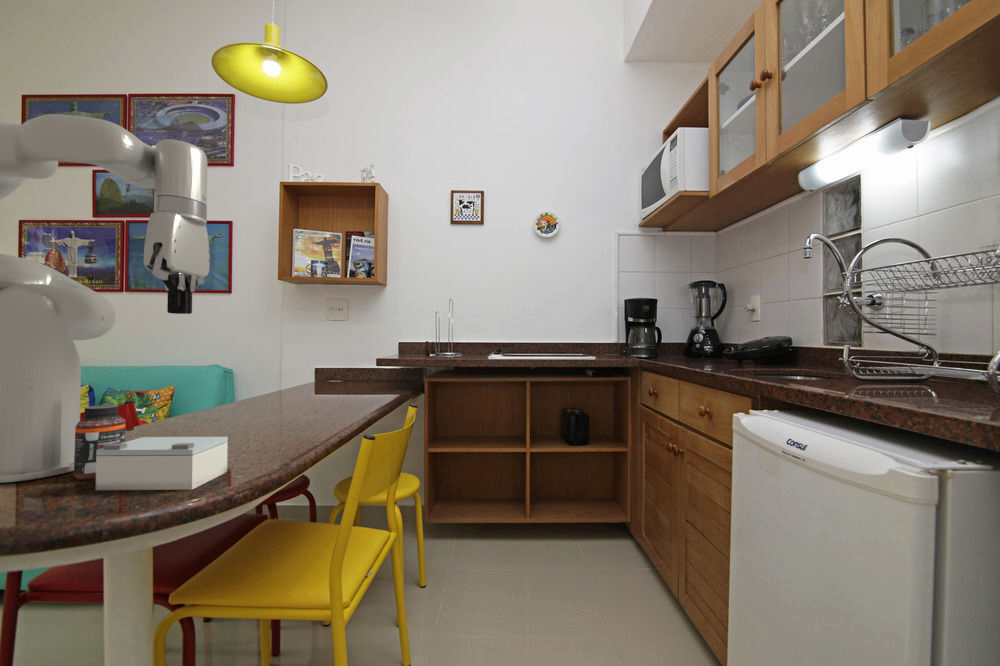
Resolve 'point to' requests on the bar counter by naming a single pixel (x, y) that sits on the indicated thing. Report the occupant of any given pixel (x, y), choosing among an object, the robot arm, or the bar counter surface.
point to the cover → (162, 446)
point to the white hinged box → (160, 470)
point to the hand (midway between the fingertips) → (179, 313)
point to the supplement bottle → (96, 437)
